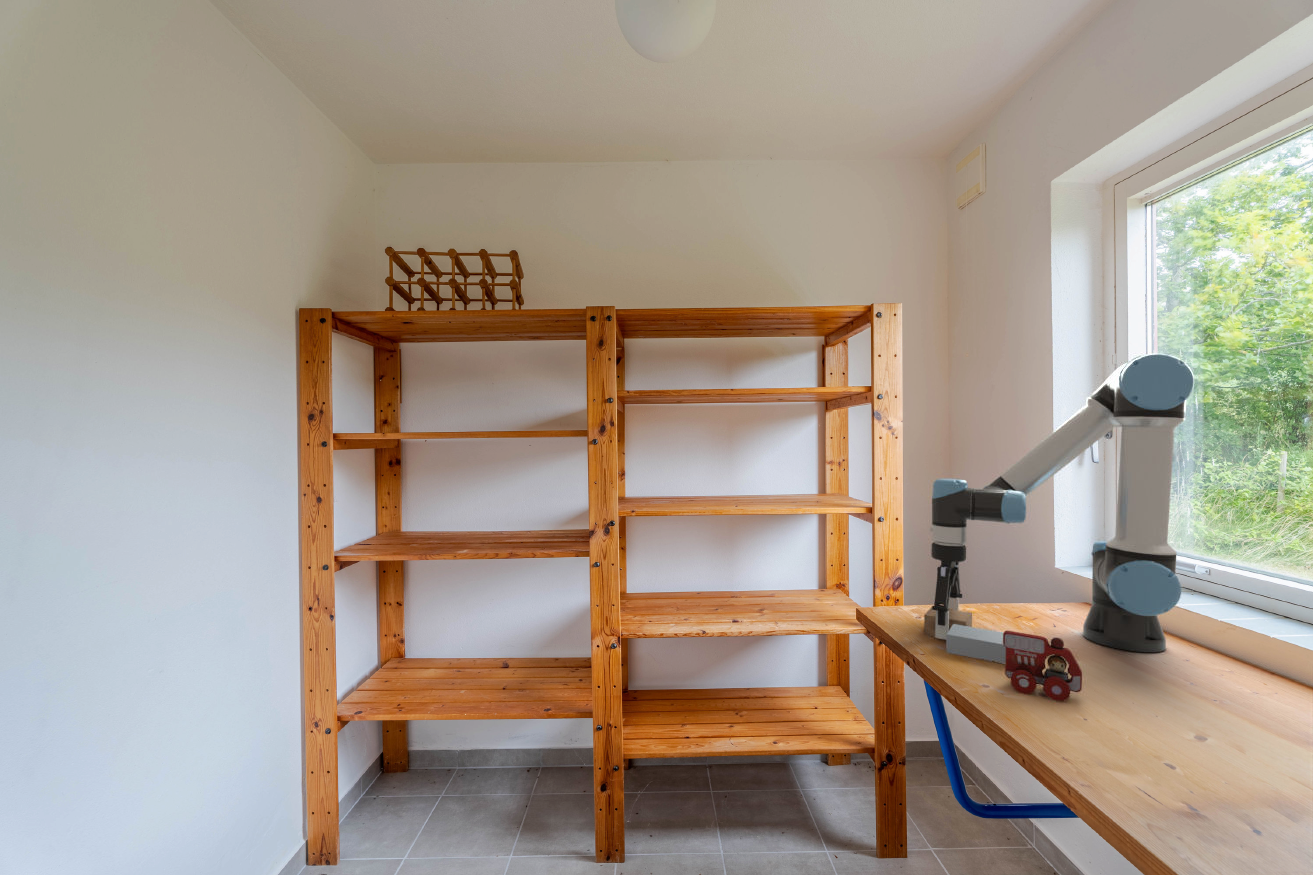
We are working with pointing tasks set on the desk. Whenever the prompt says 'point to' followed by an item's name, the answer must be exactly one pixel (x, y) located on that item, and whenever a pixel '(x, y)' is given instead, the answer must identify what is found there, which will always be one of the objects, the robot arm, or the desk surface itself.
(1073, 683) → the toy fire truck
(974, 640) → the plinth
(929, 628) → the walnut block
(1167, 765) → the desk surface
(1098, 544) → the robot arm
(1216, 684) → the desk surface
